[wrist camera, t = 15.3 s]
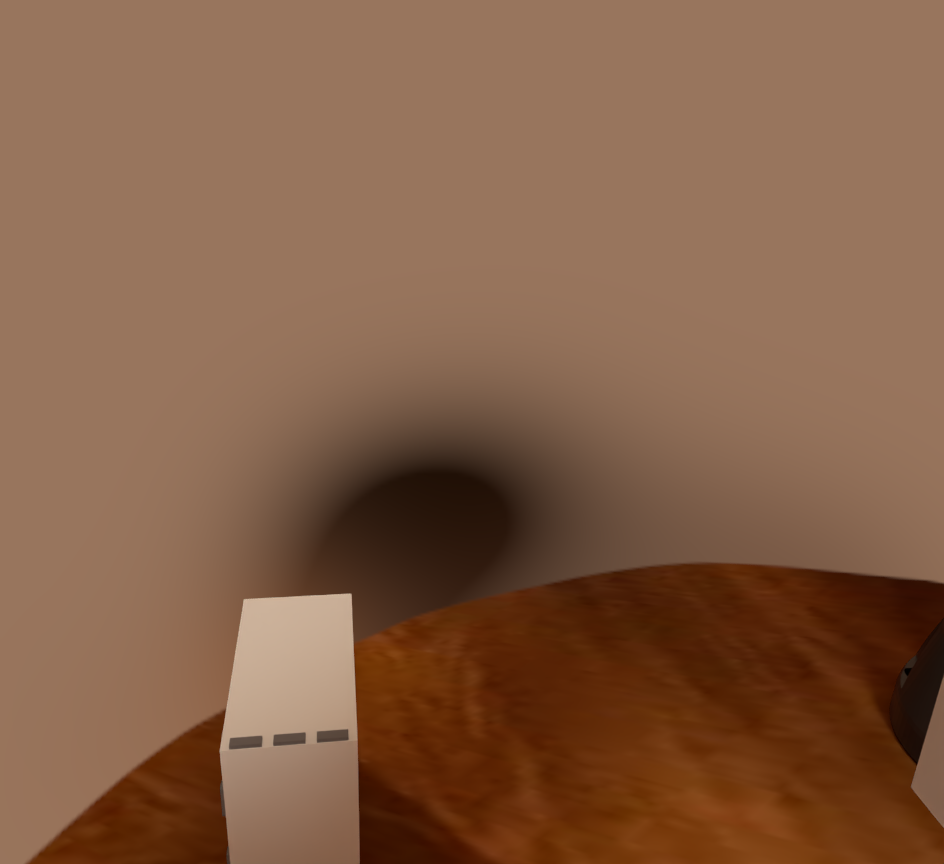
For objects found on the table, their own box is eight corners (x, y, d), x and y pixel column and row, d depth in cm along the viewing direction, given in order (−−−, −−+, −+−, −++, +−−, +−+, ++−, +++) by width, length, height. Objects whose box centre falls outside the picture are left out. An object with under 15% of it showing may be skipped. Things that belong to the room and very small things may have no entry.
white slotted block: (355, 757, 55) (352, 590, 50) (362, 929, 44) (358, 736, 39) (253, 765, 54) (240, 596, 49) (234, 943, 43) (215, 747, 38)
